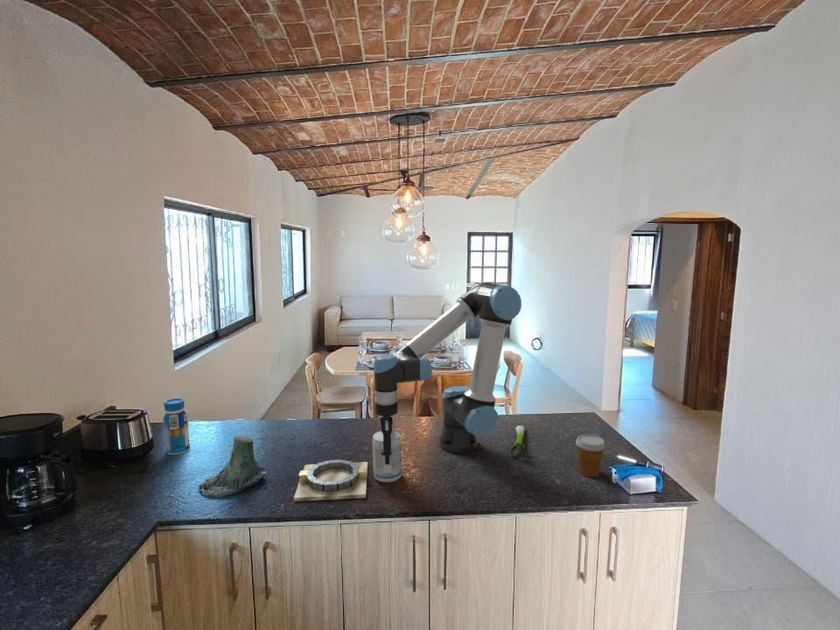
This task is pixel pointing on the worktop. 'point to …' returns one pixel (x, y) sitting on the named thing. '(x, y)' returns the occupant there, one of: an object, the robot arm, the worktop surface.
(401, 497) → the worktop surface
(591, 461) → the disposable coffee cup
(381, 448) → the supplement tub
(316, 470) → the ring
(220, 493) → the tree stump
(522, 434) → the leek
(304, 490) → the base plate
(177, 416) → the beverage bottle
